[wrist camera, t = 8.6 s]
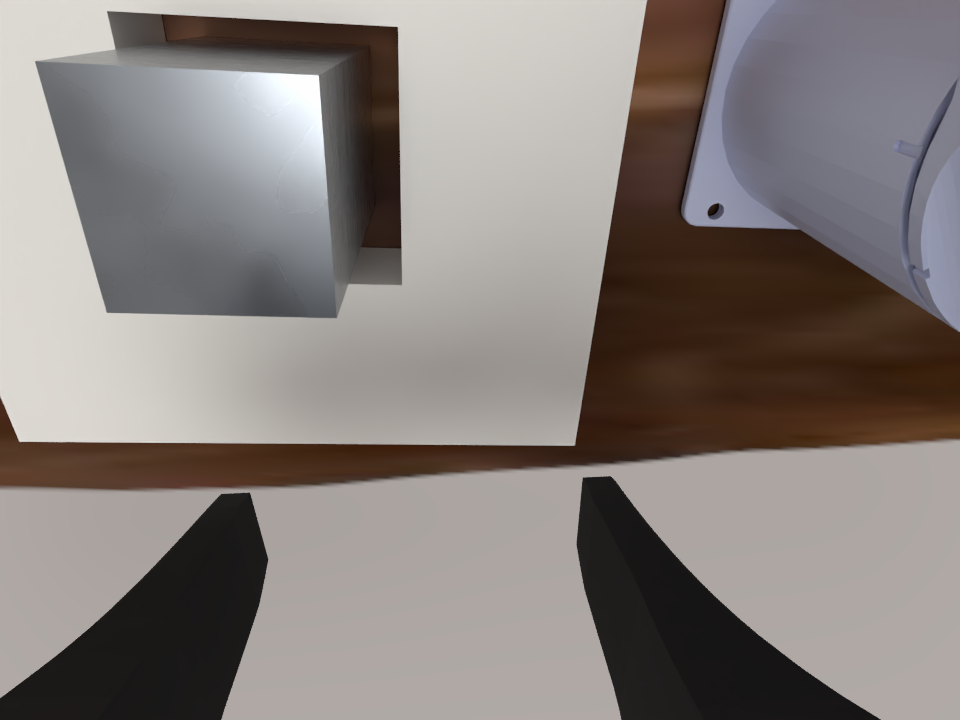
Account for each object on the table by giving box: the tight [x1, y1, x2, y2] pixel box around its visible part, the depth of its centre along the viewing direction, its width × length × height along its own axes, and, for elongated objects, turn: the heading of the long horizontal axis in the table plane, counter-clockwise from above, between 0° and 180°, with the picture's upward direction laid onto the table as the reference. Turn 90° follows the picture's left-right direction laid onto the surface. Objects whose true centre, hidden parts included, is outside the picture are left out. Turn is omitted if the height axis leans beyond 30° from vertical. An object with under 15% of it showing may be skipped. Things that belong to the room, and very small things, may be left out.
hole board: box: [0, 0, 647, 446], centre depth 17 cm, size 18×18×3 cm
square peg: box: [35, 36, 375, 318], centre depth 15 cm, size 4×4×8 cm
